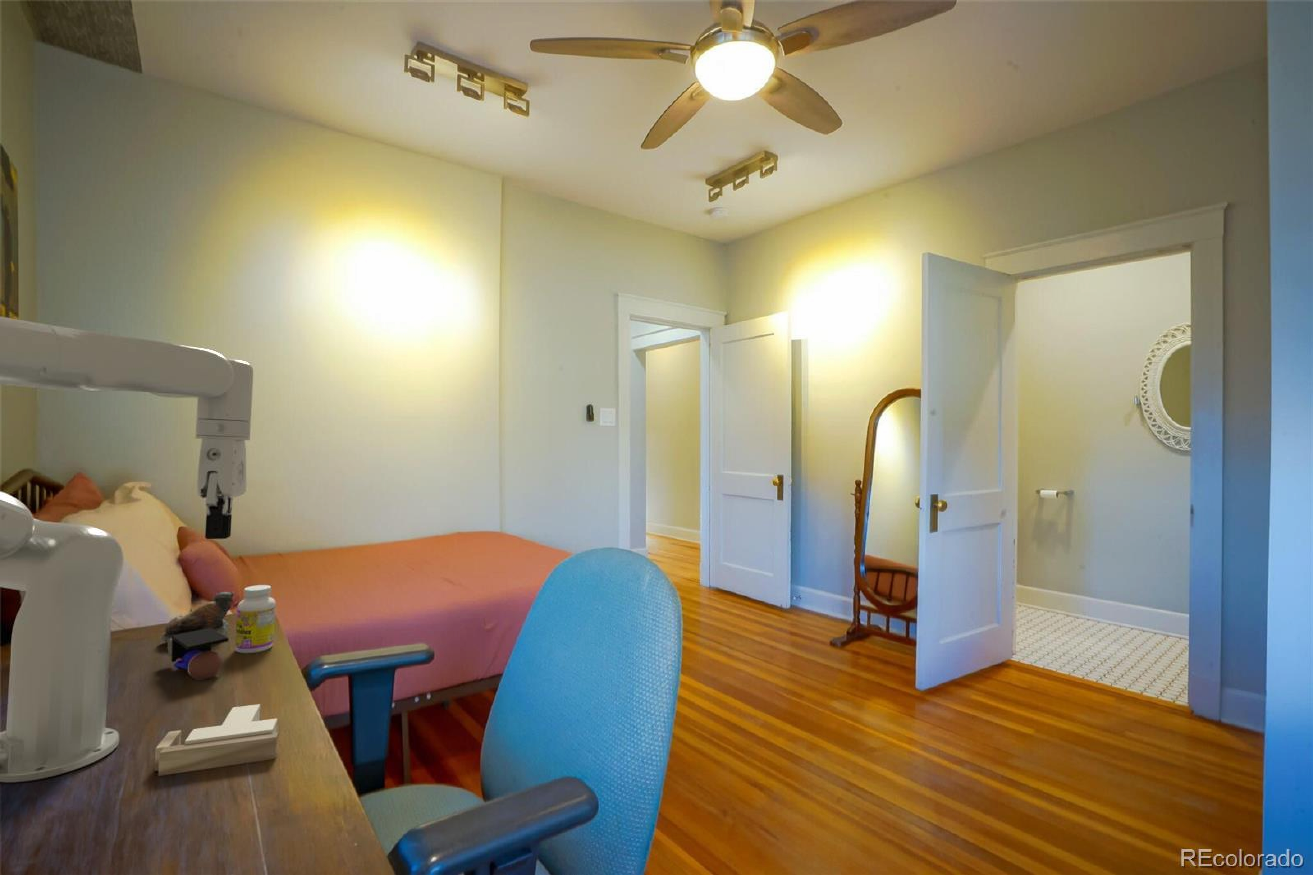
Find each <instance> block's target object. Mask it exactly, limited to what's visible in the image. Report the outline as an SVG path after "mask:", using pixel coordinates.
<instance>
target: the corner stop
mask: <svg viewBox="0 0 1313 875" xmlns="http://www.w3.org/2000/svg"><path fill="white" fill-rule="evenodd" d="M279 733H280V732H279V731H277V732H275V733H267V734H260V735H252V736H244V737H237V738H229V739H222V740H214V741H207V742H199V743H192V744H185V743H184V744H182V742H181V741H182V729H181V730H173V731H168V732H167V733H166V735H165V736H164V737H163V739H161V741H160V742H159V743H158V744H157V746H156V747H155V753H154V770H153V771H154V772H157V771H158V777H159V776H168V775H174V774H179V773H180V774H181V773H185V772H186V773H187V772H195V771H200V770H208V769H215V768H222V767H227V766H236V765H241V764H249V763H256V762H261V761H262V762H263V761H270V760H275V759H276V758H277V756H276V755H278V754H279V753H278V752H279V751H278V749H279Z"/></svg>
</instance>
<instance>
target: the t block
mask: <svg viewBox="0 0 1313 875" xmlns="http://www.w3.org/2000/svg"><path fill="white" fill-rule="evenodd" d="M260 711H261V704H260V703H258V704H249V705H242V706H235V707H231V709H230V711H229V713H228V714H227V716H226V718H225V720H224V721H223V722H222V724H221V725H216V726H206V727H199V728H194V729H192V731H191V732H190V733H189V735H188V736H187V738H186V739H185V740H184V744H192V743H199V742H207V741H214V740H222V739H229V738H237V737H244V736H252V735H260V734H267V733H275V732H278V718H270V719H263V720H260V715H261V714H260V713H261V712H260Z"/></svg>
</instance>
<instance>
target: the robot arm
mask: <svg viewBox="0 0 1313 875" xmlns="http://www.w3.org/2000/svg"><path fill="white" fill-rule="evenodd" d="M253 382H254V368H253V366H252V365H251V364H250V363H249V362H247V361H243V360H238V359H232V358H226V357H225V356H223V355H222V354H220V353H219V352H216V351H213V350H211V349H206V348H202V347H201V348H200V347H195V346H189V345H185V344H184V345H183V344H177V343H172V342H164V341H160V340H152V339H145V338H144V339H143V338H139V337H138V338H136V337H128V336H123V335H116V334H111V333H105V332H99V331H93V330H92V331H91V330H84V329H77V328H72V327H65V326H64V327H63V326H59V325H58V326H57V325H51V324H46V323H40V322H35V321H29V320H23V319H16V318H12V317H11V318H10V317H6V316H0V386H1V385H2V386H12V387H13V386H14V387H24V388H32V389H34V388H35V389H45V390H55V391H65V392H66V391H67V392H68V391H69V392H83V393H84V392H85V393H87V392H88V393H97V392H98V393H99V392H100V393H103V392H104V393H105V392H106V393H107V392H136V393H137V392H139V393H149V394H152V395H154V396H157V397H160V398H161V397H162V398H169V399H170V398H173V399H175V398H176V399H181V398H182V399H183V398H184V399H185V398H187V399H189V398H191V399H192V398H193V399H197V400H196V401H197V404H196V405H197V406H196V421H195V422H196V423H195V424H196V426H195V439H200V440H201V443H200V450H199V458H198V470H197V481H196V482H197V484H196V485H197V495H198V496H199V497H200V498H202V499H205V507H206V514H205V515H206V516H205V530H204V531H205V533H204V537H205V539H206V540H226V539H229V538H230V537H231V534H232V515H233V514H232V512H233V502H234V501H233V500H234V498H237V497H240V496H242V495H244V494H245V493H246V491H247V449H246V447H247V446H246V441H250V440H251V423H252V422H251V421H252V407H253V406H252V403H253V389H254V388H253V385H254V383H253ZM123 566H124V552H123V549H122V546H121V545H120V543H119V541H118V540H117V539H116V538H115V537H114V536H113V535H111V534H110V533H109V532H107V531H105V530H103V529H100V528H98V527H94V526H89V525H86V524H77V523H69V522H68V523H66V522H54V521H43V520H41V519H37V518H34V516H33V514H32V512H31V510H30V509H29V508H28V507H27V505H26V504H24V503H23V502H22V501H21V500H19V499H18V498H16V497H14V496H12V495H10V494H9V493H6V492H4V491H0V588H3V589H4V588H5V589H10V590H14V591H16V590H17V591H22V592H25V594H24V598H23V601H22V603H21V606H20V608H19V610H18V612H17V613H16V617H15V620H14V623H13V627H12V633H11V639H10V640H11V643H10V664H9V681H8V696H7V714H6V727H5V730H3V731H0V783H23V782H31V781H37V780H42V779H47V778H50V777H55V776H58V775H61V774H65V773H68V772H72V771H75V770H78V769H80V768H83V767H87V766H88V765H90V764H93V763H95V762H96V761H99V760H101V759H102V758H104V757H105V756H108V755H109V754H110V753H112V752H113V751H114V750H115V748H116V749H117V747H118V745H119V743H120V733H119V731H117V730H116V729H114V728H109V727H106V720H107V719H106V717H107V702H108V701H107V700H108V699H107V698H108V684H109V668H110V666H109V665H110V664H109V663H110V651H111V650H110V649H111V648H110V647H111V632H112V631H111V630H112V616H113V615H112V614H113V606H114V600H115V594H116V591H117V587H118V584H119V581H120V578H121V574H122V571H123Z"/></svg>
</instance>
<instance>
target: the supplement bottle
mask: <svg viewBox="0 0 1313 875" xmlns="http://www.w3.org/2000/svg"><path fill="white" fill-rule="evenodd" d="M271 592H272V587H271V585H268V584H257V585H252V586H247V587H245V588H244V589H243V595H244V599H243V600H241V601H239V603H238V604H237V612H236V613H237V615H236V627H235V628H236V630H235V647H234V649H235V652H236V653H237V652H238V653H241V654H254V653H260V652H264V651H267V650H269V649H271V647H273V645H274V641H275V640H274V638H275V618H276V600H275V599H274V598H273V597H271V596H270V594H271Z"/></svg>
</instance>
